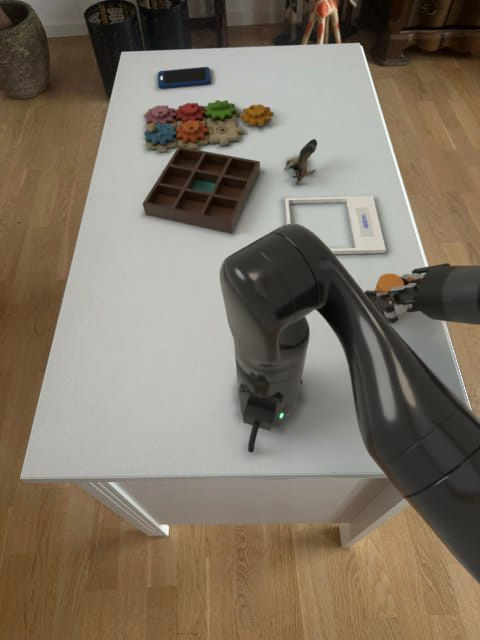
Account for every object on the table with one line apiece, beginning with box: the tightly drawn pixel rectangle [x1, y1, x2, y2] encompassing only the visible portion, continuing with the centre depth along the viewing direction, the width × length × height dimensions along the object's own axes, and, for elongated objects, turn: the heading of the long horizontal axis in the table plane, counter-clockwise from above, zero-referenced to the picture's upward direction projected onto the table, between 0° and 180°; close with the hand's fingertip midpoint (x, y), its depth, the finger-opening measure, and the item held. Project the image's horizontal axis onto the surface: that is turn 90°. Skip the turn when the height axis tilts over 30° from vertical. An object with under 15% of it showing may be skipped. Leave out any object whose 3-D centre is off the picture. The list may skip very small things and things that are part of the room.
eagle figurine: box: [283, 138, 318, 185], centre depth 94 cm, size 8×7×9 cm
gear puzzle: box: [143, 99, 274, 153], centre depth 105 cm, size 31×16×4 cm, turn 96°
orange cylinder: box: [374, 272, 404, 302], centre depth 72 cm, size 4×4×8 cm
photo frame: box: [284, 195, 386, 255], centre depth 87 cm, size 15×1×18 cm
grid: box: [142, 146, 261, 235], centre depth 93 cm, size 19×19×3 cm
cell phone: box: [157, 66, 212, 89], centre depth 118 cm, size 7×14×1 cm, turn 96°
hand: (376, 290), depth 73 cm, fingers closed on orange cylinder, 4 cm apart
